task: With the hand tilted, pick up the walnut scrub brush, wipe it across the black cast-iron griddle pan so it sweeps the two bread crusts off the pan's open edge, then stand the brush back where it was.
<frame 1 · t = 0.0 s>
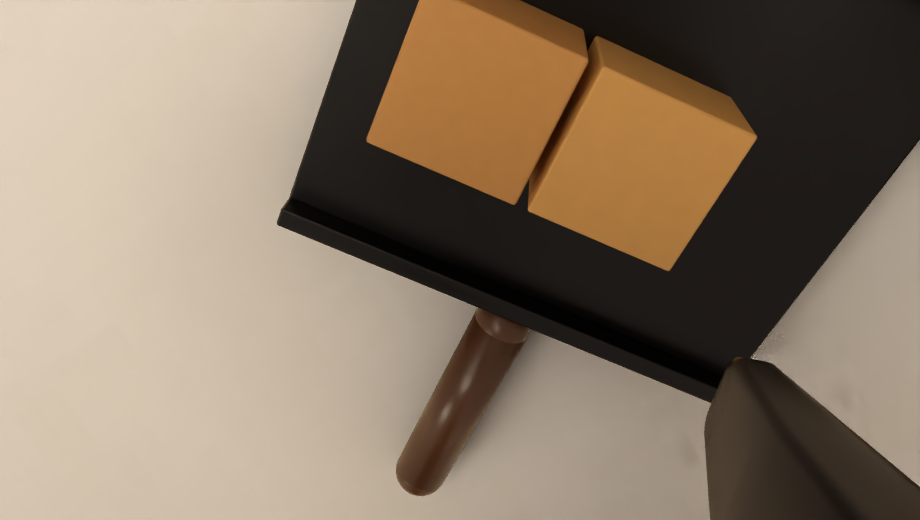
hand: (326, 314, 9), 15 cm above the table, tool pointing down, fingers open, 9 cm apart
crust b: (482, 68, 21), point 1 cm above the table, touching griddle
griddle: (607, 111, 22), on the table
crust a: (627, 132, 21), point 1 cm above the table, touching griddle
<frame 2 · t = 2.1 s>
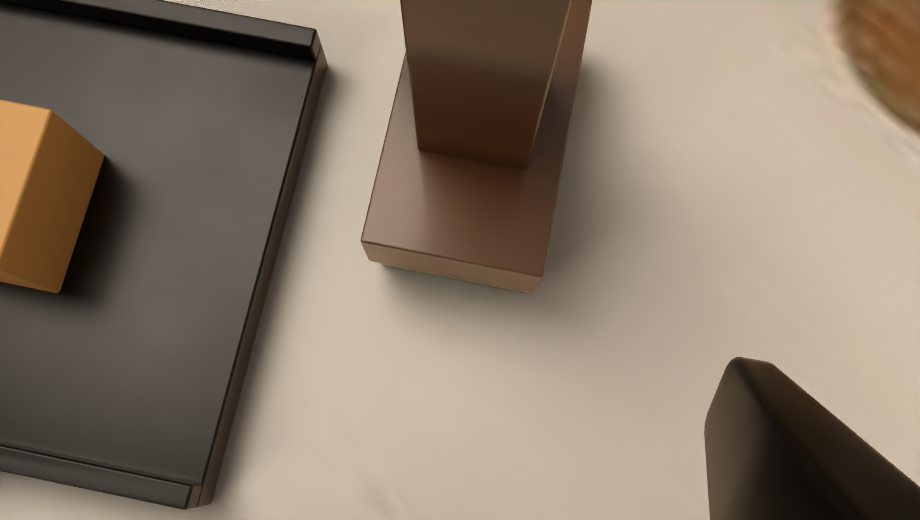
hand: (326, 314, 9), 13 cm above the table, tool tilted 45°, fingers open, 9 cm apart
griddle: (18, 217, 22), on the table
crust a: (12, 208, 21), point 1 cm above the table, touching griddle
scrub brush: (478, 155, 23), on the table
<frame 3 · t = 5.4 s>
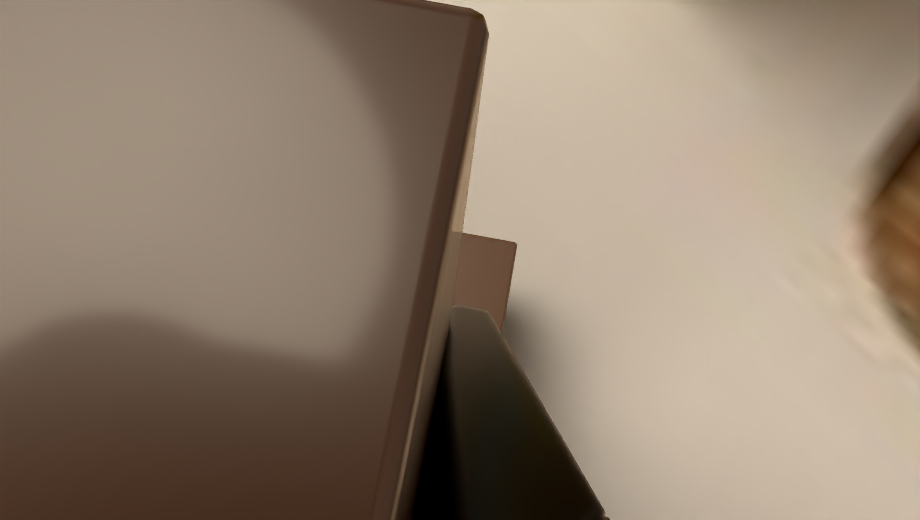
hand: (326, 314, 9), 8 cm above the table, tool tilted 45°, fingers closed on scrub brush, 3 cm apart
scrub brush: (358, 455, 16), on the table, touching gripper
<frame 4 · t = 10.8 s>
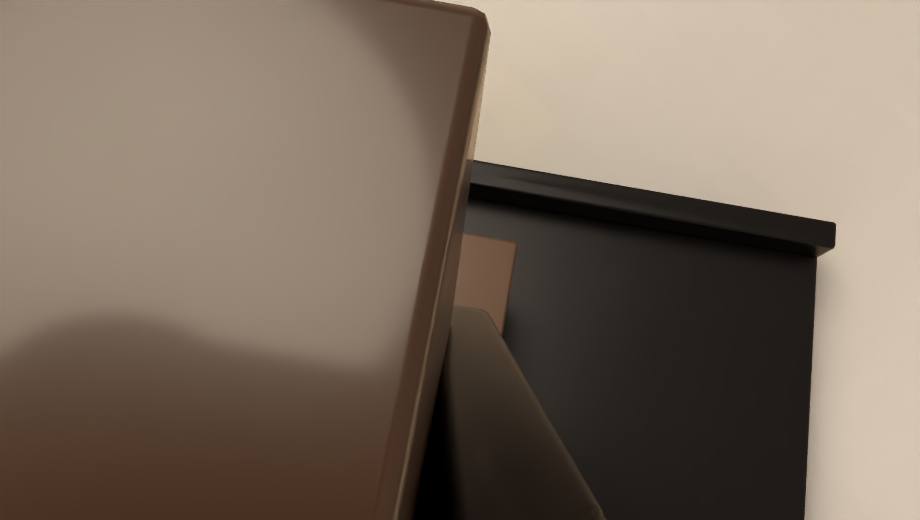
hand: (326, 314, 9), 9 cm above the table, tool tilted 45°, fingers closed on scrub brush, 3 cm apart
griddle: (438, 471, 17), on the table
scrub brush: (359, 455, 16), point 1 cm above the table, touching crust a, gripper
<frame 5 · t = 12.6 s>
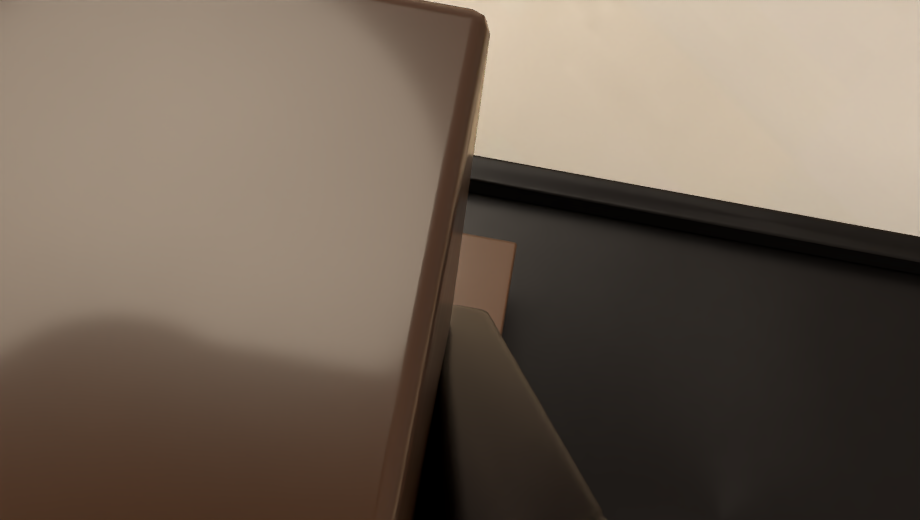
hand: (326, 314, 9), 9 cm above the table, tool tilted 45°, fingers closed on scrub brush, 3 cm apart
griddle: (700, 516, 17), on the table
scrub brush: (358, 455, 16), point 1 cm above the table, touching crust a, gripper
when the fingers open (8 cm above the table, at t = 18.0 s): scrub brush stays where it is, on the table.
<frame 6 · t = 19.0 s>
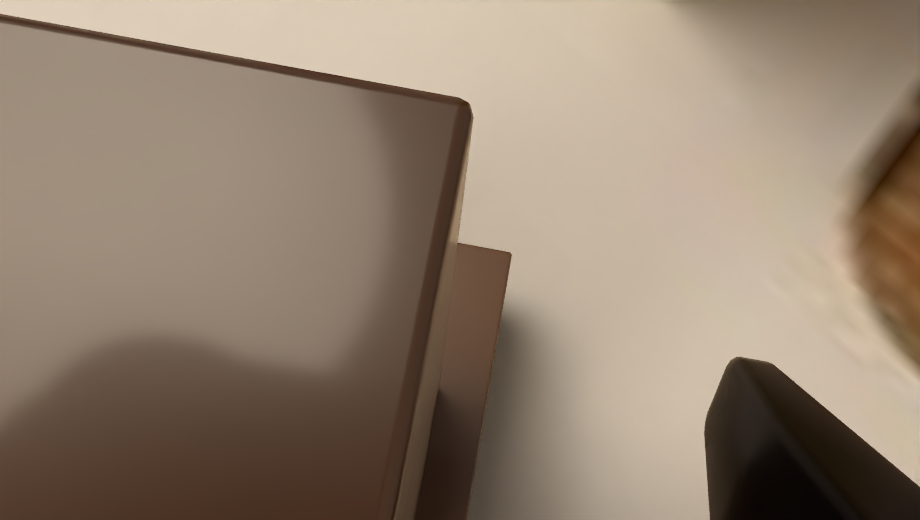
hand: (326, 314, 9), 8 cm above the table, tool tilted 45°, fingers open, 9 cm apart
scrub brush: (359, 456, 16), on the table
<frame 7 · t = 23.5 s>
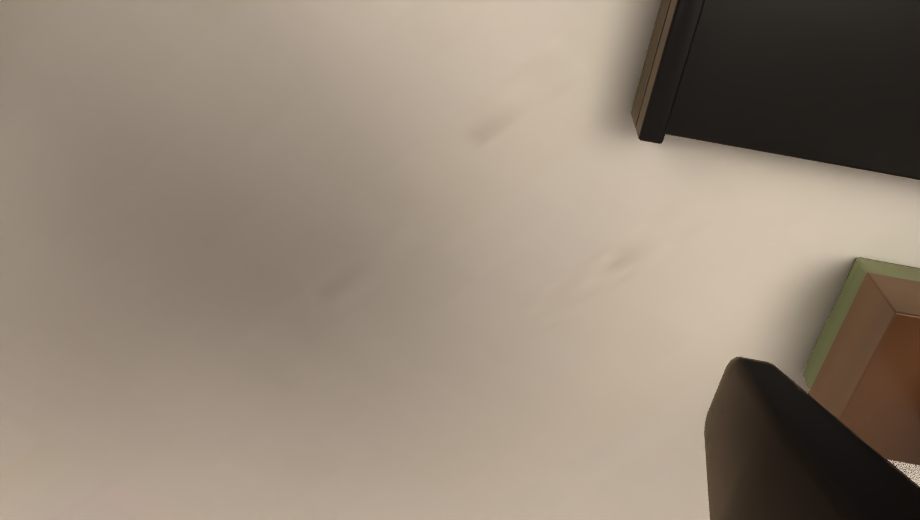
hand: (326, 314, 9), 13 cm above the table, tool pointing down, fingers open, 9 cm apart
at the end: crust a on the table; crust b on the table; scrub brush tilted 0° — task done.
